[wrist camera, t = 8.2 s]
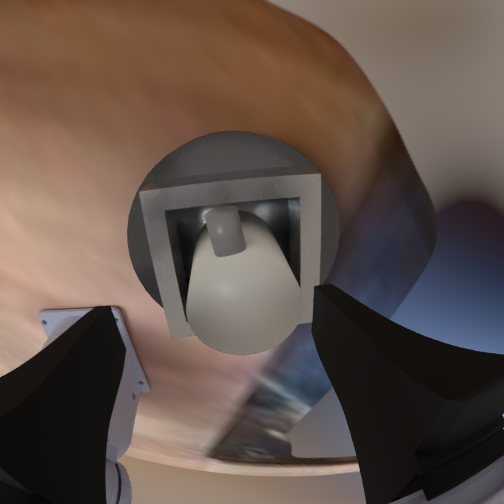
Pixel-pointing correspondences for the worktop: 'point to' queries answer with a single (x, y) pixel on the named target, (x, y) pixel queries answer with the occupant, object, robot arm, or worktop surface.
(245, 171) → the square tube on disc
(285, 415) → the worktop surface
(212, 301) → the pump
